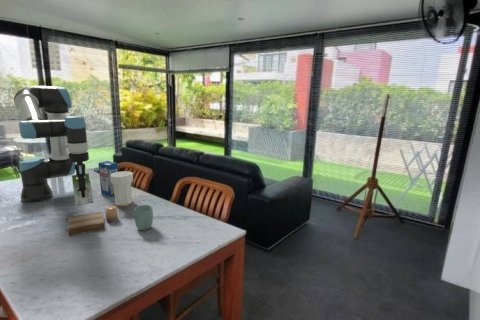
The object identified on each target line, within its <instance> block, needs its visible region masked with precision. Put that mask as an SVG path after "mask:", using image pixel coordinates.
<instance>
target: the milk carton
mask: <svg viewBox="0 0 480 320" xmlns="http://www.w3.org/2000/svg"><path fill="white" fill-rule="evenodd" d="M97 165H98V172H99V184H100V192H101V193H100V194H101V195H103V194H104V195H103V196H106V197H108V196H109V198H114V197H115V195H114V187H113V184H112V183H111V176H110V175H111V174H112V173H115V172H119V166H118V165H119V163H118V162H113V161H110V160H106V161H101V162H98V164H97ZM113 196H114V197H113Z"/></svg>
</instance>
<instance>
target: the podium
mask: <svg viewBox="0 0 480 320" xmlns="http://www.w3.org/2000/svg"><path fill="white" fill-rule="evenodd" d="M105 229H106V228H105V220H104V214H103V211H102V210H101V211H95V212H91V213H83V214H79V215H74V216H73V215H72V216H68V227H67V231H68V236H74V235H79V234H80V235H81V234H84V233H90V232H95V231H99V230H105Z"/></svg>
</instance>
